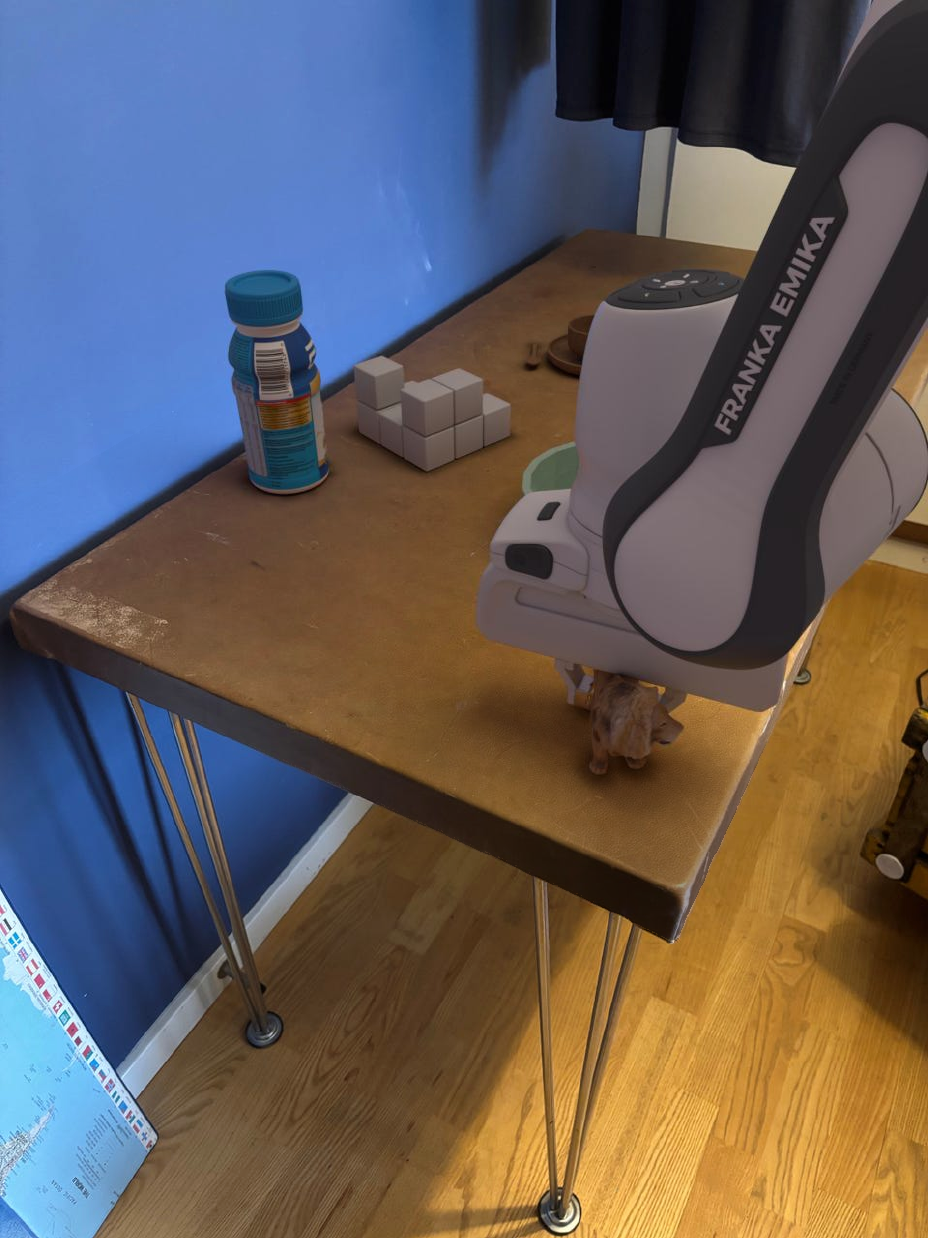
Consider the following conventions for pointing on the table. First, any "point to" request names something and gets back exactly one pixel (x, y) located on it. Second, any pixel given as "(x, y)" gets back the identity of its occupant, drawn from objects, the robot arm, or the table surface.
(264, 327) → the beverage bottle
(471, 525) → the table surface
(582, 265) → the table surface
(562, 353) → the place setting
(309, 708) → the table surface
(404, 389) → the puzzle cube
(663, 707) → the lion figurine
